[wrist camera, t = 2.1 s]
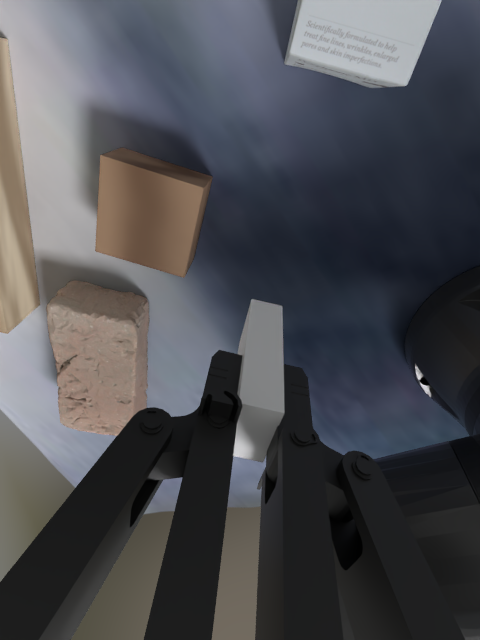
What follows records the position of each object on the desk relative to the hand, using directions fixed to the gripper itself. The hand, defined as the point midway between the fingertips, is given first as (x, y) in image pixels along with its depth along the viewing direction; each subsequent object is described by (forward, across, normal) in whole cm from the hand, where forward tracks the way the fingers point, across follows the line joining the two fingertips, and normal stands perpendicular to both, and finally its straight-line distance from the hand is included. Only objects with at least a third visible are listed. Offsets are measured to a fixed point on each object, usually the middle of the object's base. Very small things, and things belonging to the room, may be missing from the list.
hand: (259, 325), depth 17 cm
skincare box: (+14, -1, -14) cm, 20 cm away
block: (+14, +9, 0) cm, 16 cm away
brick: (+14, +13, +17) cm, 26 cm away
